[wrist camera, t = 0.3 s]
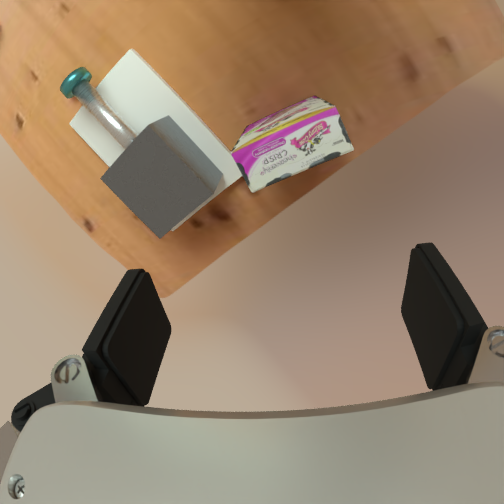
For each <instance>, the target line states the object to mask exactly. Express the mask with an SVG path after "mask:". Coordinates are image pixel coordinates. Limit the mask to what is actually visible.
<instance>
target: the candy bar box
mask: <svg viewBox="0 0 504 504" xmlns="http://www.w3.org/2000/svg"><path fill="white" fill-rule="evenodd" d="M353 150H354V148H353V146H352V144H351V141H350V139H349V136H348V134H347V131H346V129H345V127H344V124H343V122H342V120H341V117H340V115H339V113H338V111H337V108H336V106H334V105H332V104H331V103H329V102H327V101H325V100H323V99H321V98H319V97H317V96H313V97H310V98H308V99H305V100H303V101H301V102H298V103H296V104H294V105H291V106H289V107H287V108H285V109H282V110H280V111H278V112H276V113H273V114H271V115H269V116H267V117H265V118H263V119H261V120H259V121H257V122H255V123H253V124H250V125H248V126H247V127H246V128H245V130H244V132H243V133H242V135H241V137H240V138H239V140H238V141H237V143H236V145H235V146H234V148H233V149H232V151H231V152H230V153H231V155H232V157H233V159H234V161H235V162H236V164H237V166H238V168H239V170H240V172H241V174H242V176H243V177H244V179H245V181H246V183H247V185H248V187H249V189H250V191H251V192H252V193H253V192H256V191H258V190H260V189H262V188H265V187H267V186H269V185H272V184H274V183H276V182H279V181H281V180H283V179H286V178H288V177H290V176H293V175H295V174H298V173H300V172H302V171H305V170H307V169H310V168H312V167H314V166H317V165H319V164H322V163H324V162H327V161H329V160H331V159H334V158H336V157H339V156H341V155H343V154H346V153H348V152H351V151H353Z"/></svg>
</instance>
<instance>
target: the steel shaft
mask: <svg viewBox="0 0 504 504" xmlns="http://www.w3.org/2000/svg"><path fill="white" fill-rule="evenodd" d="M91 77H92V75H91V73H90V72H89V71H88V70H87V69H86V68H85V67H80V68H78V69H76V70H74V71H73V72H72V73H70V74H69V75H68V76H67V77H66V79H65V80H64V81H63V83H62V84H61V87H60V91H61V92H62V93H63V94H64V95H65V97H66V98H72V97H74V96H75V97H76V98H77V99H78V100H79V101H80V102H81V103H82V104H83V106H84V107H85V108H86V109H87V110H88V111H89V112H90V113H91V114H92V115H93V116H94V117H95V118H96V120H97V121H98V122H99V123H100V124H101V125H102V126H103V127H104V128H105V129H106V130H107V131H108V132H109V133H110V134H111V136H112V137H113V138H114V139H115V140H116V141H117V142H118V143H119V144H120V145H121V146H122V147H123V148H124V149H126V148H127V147H128V146H129V145H130V144H131V143H132V141H133V140H134V139H135V138H136V137H137V136H138V135H139V134H138V133H137V132H136V131H135V130H134V129H133V128H132V127H131V126H130V125H129V124H128V123H127V122H126V121H125V120H124V119H123V118H122V117H121V115H120V114H119V113H118V112H117V111H116V110H115V109H114V108H113V107H112V106H111V105H110V104H109V103H108V102H107V101H106V100H105V99H104V98H103V96H102V95H101V94H100V93H99V92H98V91H97V90H96V89H95V88H94V87H93V86H92V85H91V84H90V83H89V82H90V80H91Z"/></svg>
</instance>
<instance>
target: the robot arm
mask: <svg viewBox="0 0 504 504" xmlns="http://www.w3.org/2000/svg"><path fill="white" fill-rule="evenodd" d="M401 313H402V316H403V319H404V322H405V324H406V327H407V330H408V332H409V335H410V337H411V340H412V343H413V345H414V348H415V351H416V354H417V357H418V360H419V363H420V365H421V368H422V371H423V374H424V377H425V381H426V384H427V386H428V388H429V389H432V390H433V391H430V392H426V393H421V394H416V395H410V396H405V397H399V398H394V399H388V400H382V401H376V402H370V403H363V404H355V405H347V406H338V407H329V408H318V409H305V410H291V411H266V412H215V411H189V410H175V409H162V408H152V407H144V405H147V404H148V403H149V400H150V397H151V393H152V390H153V387H154V384H155V380H156V377H157V374H158V371H159V368H160V365H161V362H162V359H163V356H164V353H165V350H166V347H167V343H168V340H169V338H170V335H171V325H170V322H169V320H168V318H167V315H166V313H165V311H164V308H163V306H162V303H161V301H160V299H159V296H158V294H157V291H156V289H155V286H154V284H153V281H152V279H151V276H150V274H149V273H148V272H145V270H144V269H131V270H128V271H127V272H126V274H125V275H124V277H123V278H122V280H121V282H120V283H119V285H118V287H117V288H116V290H115V292H114V293H113V295H112V297H111V298H110V300H109V302H108V303H107V305H106V307H105V309H104V310H103V312H102V314H101V316H100V317H99V319H98V321H97V323H96V324H95V326H94V328H93V330H92V332H91V334H90V335H89V337H88V339H87V341H86V343H85V345H84V346H83V349H82V351H83V352H84V354H83V356H82V357H80V356H79V355H69V356H66V357H64V358H62V359H61V360H60V361H58V362H57V364H56V365H55V366H54V368H53V369H52V372H51V383H50V384H48V385H46V386H45V387H43V388H41V389H40V390H38V391H36V392H35V393H33V394H31V395H30V396H28V397H26V398H24V399H23V400H21V401H20V402H19V403H18V404H17V405H16V406H15V407H14V410H13V412H12V416H11V420H12V422H11V423H10V422H9V421H7V422H6V423H5V424H4V425H3V426H2V427H1V428H0V504H504V327H502V326H493V327H490V328H489V329H488V327H487V325H486V324H485V322H484V320H483V318H482V317H481V315H480V313H479V312H478V310H477V308H476V307H475V305H474V303H473V302H472V300H471V298H470V297H469V295H468V294H467V292H466V290H465V289H464V287H463V286H462V284H461V283H460V281H459V280H458V278H457V277H456V275H455V274H454V272H453V271H452V269H451V268H450V266H449V265H448V264H447V262H446V261H445V259H444V258H443V256H442V255H441V254H440V252H439V251H438V249H437V248H436V247H435V245H434V244H433V243H422V244H417V245H416V247H415V248H414V249H412V250H411V255H410V262H409V268H408V274H407V280H406V286H405V291H404V296H403V301H402V307H401Z"/></svg>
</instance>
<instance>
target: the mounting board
mask: <svg viewBox="0 0 504 504" xmlns="http://www.w3.org/2000/svg"><path fill="white" fill-rule="evenodd" d="M96 90H97V91H98V92H99V93H100V94H101V95H102V96H103V98H104V99H105V100H106V101H107V102H108V103H109V104H110V105H111V106H112V107H113V108H114V109H115V110H116V111H117V112H118V113H119V114H120V115H121V117H122V118H123V119H124V120H125V121H126V122H127V123H128V124H129V125H130V126H131V127H132V128H133V129H134V130H135V131H136V132H137V133H138V134H140V133H141V132H142V131H143V130H144V129H145V128H146V127H147V126H148V125H149V124H151V123H153V122H155V121H157V120H159V119H161V118H164V117H166V116H168V115H169V116H170V117H171V118H172V119H173V120H174V121H175V122H176V124H177V125H178V126H179V127H180V128H181V129H182V130H183V131H184V132H185V133H186V134H187V135H188V136H189V137H190V139H191V140H192V141H193V142H194V143H195V144H196V145H197V146H198V147H199V148H200V149H201V150H202V151H203V153H204V154H205V155H206V156H207V157H208V158H209V159H210V160H211V161H212V162H213V163H214V165H215V166H216V167H217V168H218V169H219V170H220V171H221V172H222V173H223V175H222V177H221V179H220V182H219V184H218V186H217V188H216V190H215V192H214V194H213V195H212V196H211V197H210V198H208V199H207V200H206V201H205V202H203V203H202V204H201V205H200V206H198V207H197V208H196V209H195V210H194V211H192V212H191V213H190V214H189V215H188V216H186V217H185V218H184V219H183V220H182V221H180V222H179V223H178V224H177V225H176V226H174V227H173V228H172V229H171V230H172V231H174V230H175V229H177V228H178V227H179V226H180V225H181V224H183V223H184V222H185V221H186V220H187V219H189V218H190V217H191V216H192V215H194V214H195V213H196V212H197V211H198V210H200V209H201V208H202V207H203V206H205V205H206V204H207V203H208V202H210V201H211V200H212V199H213V198H215V197H216V196H217V195H218V194H220V193H221V192H222V191H223V190H225V189H226V188H227V187H229V186H230V185H231V184H232V183H234V182H235V181H236V180H237V179H239V178H240V177H241V176H242V174H241V172H240V170H239V168H238V166H237V164H236V162H235V161H234V159H233V157H232V155H231V153H230V152H231V151H230V150H229V149H228V148H227V147H226V146H225V145H224V144H223V142H222V141H221V140H220V139H219V138H218V137H217V136H216V135H215V134H214V133H213V131H212V130H211V129H210V128H209V127H208V126H207V125H206V124H205V123H204V122H203V121H202V119H201V118H200V117H199V116H198V115H197V114H196V113H195V112H194V111H193V110H192V109H191V108H190V107H189V106H188V104H187V103H186V102H185V101H184V100H183V99H182V98H181V97H180V96H179V95H178V94H177V93H176V92H175V91H174V90H173V89H172V88H171V87H170V86H169V84H168V83H167V82H166V81H165V80H164V79H163V78H162V77H161V76H160V75H159V74H158V73H157V72H156V71H155V70H154V69H153V68H152V67H151V66H150V65H149V64H148V63H147V62H146V61H145V60H144V59H143V58H142V57H141V56H140V55H139V54H138V53H137V52H136V51H135V50H134V49H130V50H129V51H128V52H127V53H126V54H125V55H124V56H123V57H122V58H121V59H120V60H119V62H118V63H117V64H116V65H115V66H114V67H113V68H112V70H111V71H110V72H109V73H108V74H107V75H106V77H105V78H104V79H103V80H102V81H101V83H100V84H99V85H98V86H97V87H96ZM70 125H71V126H72V127H73V128H74V130H75V131H76V132H77V133H78V134H79V135H80V136H81V137H82V138H83V139H84V140H85V142H86V143H87V144H88V145H89V146H90V147H91V148H92V149H93V150H94V151H95V152H96V153H97V154H98V155H99V157H100V158H101V159H102V160H103V161H104V162H105V163H106V164H107V165H108V166H109V167H110V166H111V165H112V164H113V163H114V162H115V161H116V159H117V158H118V157H119V156H120V155H121V154H122V153H123V151H124V150H125V149H124V148H123V147H122V146H121V145H120V144H119V143H118V142H117V141H116V140H115V139H114V138H113V137H112V136H111V134H110V133H109V132H108V131H107V130H106V129H105V128H104V127H103V126H102V125H101V124H100V123H99V122H98V121H97V120H96V118H95V117H94V116H93V115H92V114H91V113H90V112H89V111H88V110H87V109H86V108H85V107H84V106H82V107H81V108H80V110H79V111H78V112H77V114H76V115H75V116H74V118H73V119H72V121H71V122H70Z"/></svg>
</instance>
